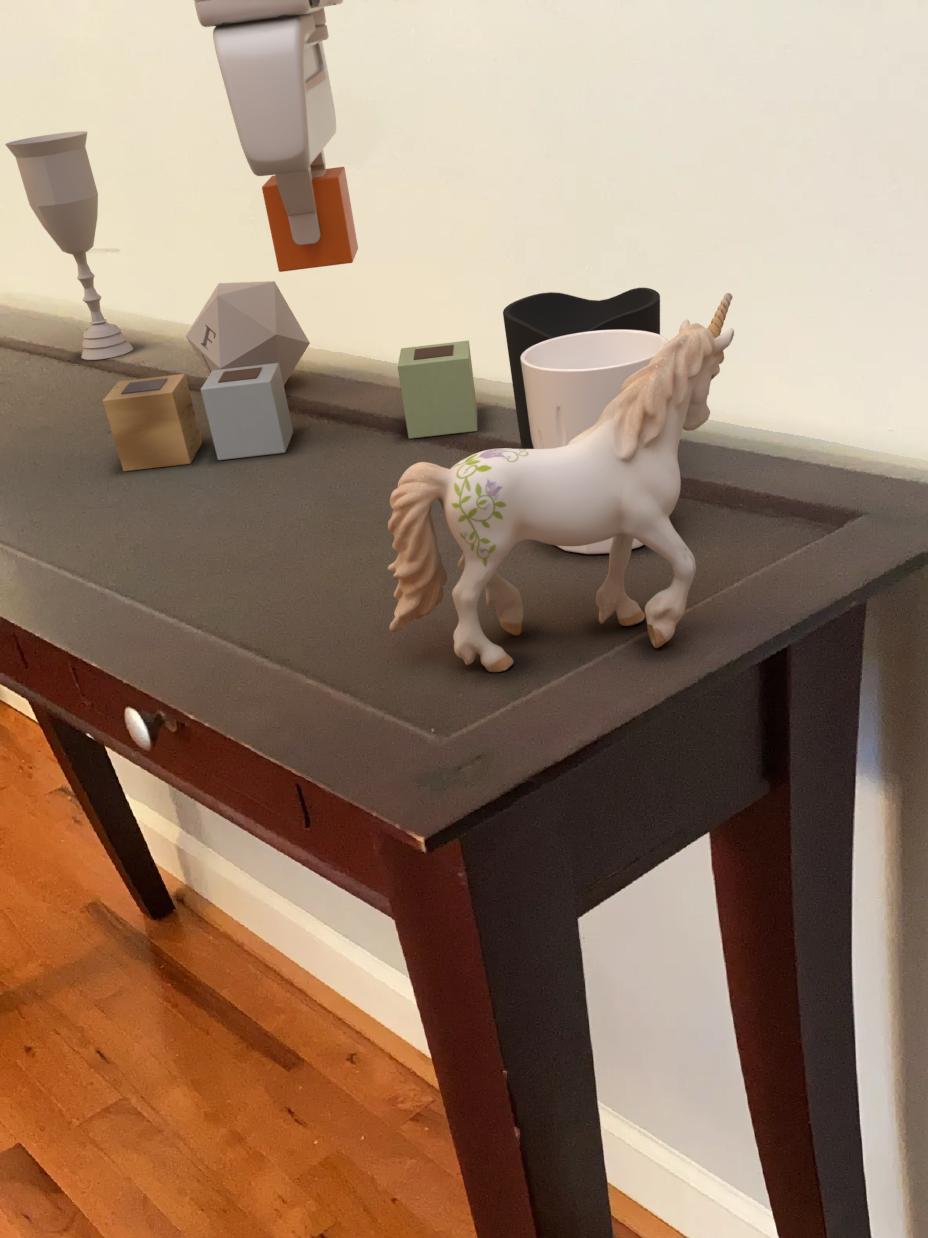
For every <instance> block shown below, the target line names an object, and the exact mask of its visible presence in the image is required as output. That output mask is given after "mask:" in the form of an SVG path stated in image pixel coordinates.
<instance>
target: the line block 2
mask: <svg viewBox="0 0 928 1238" xmlns="http://www.w3.org/2000/svg"><path fill="white" fill-rule="evenodd" d="M200 393H201V397H202V402H203V405H204V406H203V407H204V409H205V413H206V417H207V421H208V426H209V429H210V435H211V437H212V442H213V446H214V450H215V455H216V458H217V461H225V460H237V459H245V458H253V457H262V456H270V455H279V454H285V453H286V452H287V449H288V447H289V444H290V441H291V439H292V437H293V434H294V429H293V424H292V418H291V414H290V409H289V404H288V400H287V395H286V391H285V385H283V380H282V375H281V370H280V365H279V363H273V364H264V365H256V366H247V367H239V368H230V369H222V370H213V371H212V372H211V374H209V375H208V377H207V378H206V380H205V382H204V383H203V385H202V386H201V387H200Z"/></svg>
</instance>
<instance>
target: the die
mask: <svg viewBox="0 0 928 1238" xmlns="http://www.w3.org/2000/svg"><path fill="white" fill-rule="evenodd" d="M185 338H186V340H187V341H188V343H189V344H190V346H191V348H192V349H193V350H194V352H195V354H196V355H197V357H198V359H199V360H200V361H201V363H202V365H203V366H204V368H205V370H206V371H207V372H208V374H209V375H210V374H211V372H212V371H213V370H222V369H230V368H239V367H247V366H256V365H264V364H273V363H279V365H280V370H281V375H282V380H283V385H284V386H285V384H286V383H287V381H288V379H289V378H290V376H292V373H293V372H294V370H295V368H296V366H297V365H298V364H299V362H300V360H301V359H302V358H303V355H304V354H305V352H306V351H307V349H308V347H309V346H310V344H311V342H310V341H309V338H308V337H307V335H306V334H305V332H304V330H303V329H302V327H301V325H300V323H299V321H298V320H297V318H296V316H295V314H294V313H293V311H292V309H291V307H290V305H289V304H288V302H287V301H286V299H285V297H284V295H283V293H282V292H281V290H280V288H279V286H278V285H277V283H276V281H275V280H272V281H271V280H269V281H268V280H267V281H244V282H243V281H239V282H219V283H217V285H216V287H215V288H214V290H213V291H212V293H211V295H210V296H209V298H208V299H207V301H206V303H205V304H204V306H203V308H202V309H201V311H200V313H199V314H198V316H197V317H196V318H195V320H194V321H193V324H192V325H191V326H190V328H189V330H188V331H187V333H186V334H185Z"/></svg>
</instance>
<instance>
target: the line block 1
mask: <svg viewBox="0 0 928 1238" xmlns="http://www.w3.org/2000/svg"><path fill="white" fill-rule="evenodd" d="M102 403H103V407H104V410H105V413H106V417H107V420H108V424H109V427H110V430H111V435H112V438H113V442H114V444H115V448H116V451H117V454H118V459H119V461H120V465H121V468H122V471H123V472H131V471H141V470H148V469H157V468H166V467H174V466H183V465H191V464H192V462H193V460H194V458H196V455H197V453H198V452H199V450H200V448H201V446H202V444H203V440H202V435H201V431H200V428H199V424H198V423H199V422H198V420H197V416H196V412H195V408H194V404H193V399H192V396H191V392H190V388H189V384H188V380H187V376H186V373H179V374H170V375H161V376H154V377H153V376H152V377H146V378H145V377H143V378H135V379H127V380H119V381H118V382H117V383H116V384H115V385H114V386H113V388H112V389H111V390H110V391H109V392H108V394H106V396H105V397H104V398H103V399H102Z"/></svg>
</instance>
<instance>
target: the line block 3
mask: <svg viewBox="0 0 928 1238" xmlns="http://www.w3.org/2000/svg"><path fill="white" fill-rule="evenodd" d="M472 362H473V361H472V355H471V346H470V341H469V340H461V341H453V342H451V341H450V342H444V343H443V342H442V343H436V344H427V345H418V346H410V347H402V348H400V353H399V357H398V362H397V371H398V377H399V378H398V379H399V384H400V391H401V398H402V404H403V410H404V419H405V424H406V431H407V437H408V439H410V440H411V439H419V438H420V439H421V438H429V437H437V436H444V435H445V436H446V435H447V436H448V435H454V434H455V435H456V434H463V433H471V432H478V406H477V396H476V388H475V380H474V372H473V364H472Z"/></svg>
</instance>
